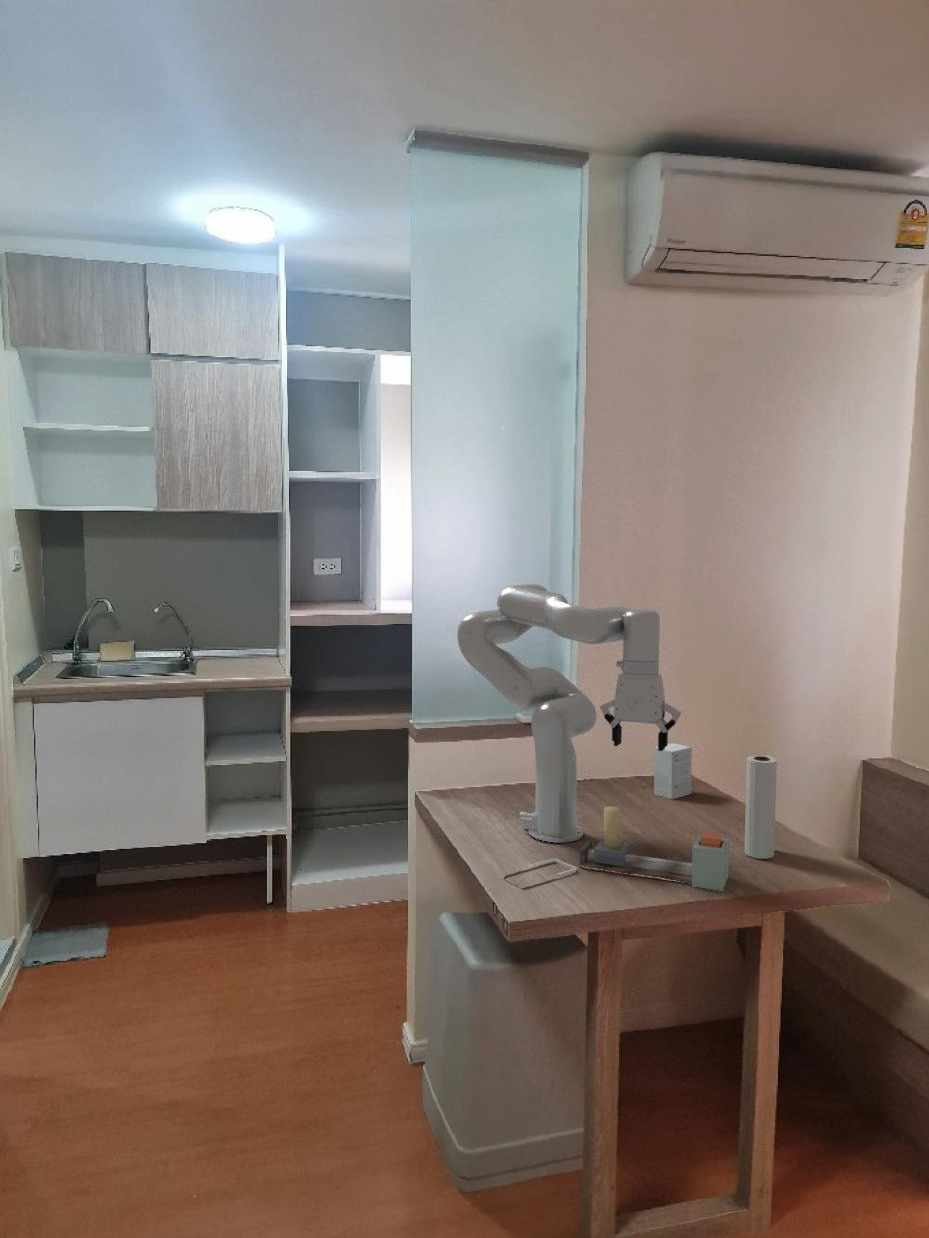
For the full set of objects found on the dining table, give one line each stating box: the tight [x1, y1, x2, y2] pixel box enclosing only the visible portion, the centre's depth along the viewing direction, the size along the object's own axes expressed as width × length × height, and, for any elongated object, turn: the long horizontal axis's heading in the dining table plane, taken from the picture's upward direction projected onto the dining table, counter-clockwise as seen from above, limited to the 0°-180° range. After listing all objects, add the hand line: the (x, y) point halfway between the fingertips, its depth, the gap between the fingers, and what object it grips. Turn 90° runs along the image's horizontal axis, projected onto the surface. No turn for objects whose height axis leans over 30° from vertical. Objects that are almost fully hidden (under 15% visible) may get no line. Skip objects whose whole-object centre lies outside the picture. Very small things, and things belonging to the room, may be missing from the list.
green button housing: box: [691, 834, 730, 892], centre depth 174 cm, size 6×8×8 cm
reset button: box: [700, 831, 723, 848], centre depth 173 cm, size 4×4×3 cm
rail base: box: [579, 839, 692, 885], centre depth 180 cm, size 23×6×4 cm, turn 66°
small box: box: [653, 742, 693, 800], centre depth 234 cm, size 8×6×13 cm
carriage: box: [594, 805, 630, 867], centre depth 182 cm, size 6×6×11 cm
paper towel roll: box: [744, 754, 778, 860], centre depth 188 cm, size 7×6×21 cm
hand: (639, 747), depth 187 cm, fingers open, 9 cm apart
